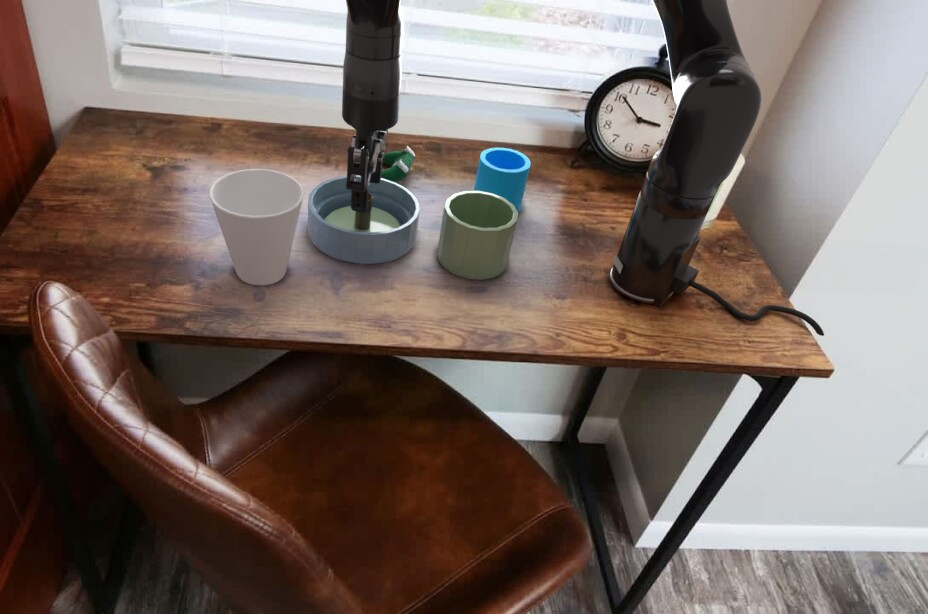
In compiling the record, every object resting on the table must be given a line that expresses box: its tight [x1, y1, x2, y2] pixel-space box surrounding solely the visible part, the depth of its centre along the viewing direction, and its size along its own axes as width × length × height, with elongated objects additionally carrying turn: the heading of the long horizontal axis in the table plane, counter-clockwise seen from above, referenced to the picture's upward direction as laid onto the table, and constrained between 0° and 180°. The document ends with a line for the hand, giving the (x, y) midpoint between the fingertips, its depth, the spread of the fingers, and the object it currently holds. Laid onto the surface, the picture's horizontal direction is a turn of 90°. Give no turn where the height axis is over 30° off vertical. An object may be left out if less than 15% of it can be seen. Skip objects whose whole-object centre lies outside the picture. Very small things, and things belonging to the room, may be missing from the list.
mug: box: [473, 147, 531, 213], centre depth 116 cm, size 12×8×8 cm
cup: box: [208, 168, 305, 286], centre depth 93 cm, size 12×12×12 cm
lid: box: [325, 193, 400, 232], centre depth 104 cm, size 11×11×6 cm
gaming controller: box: [381, 145, 416, 183], centre depth 119 cm, size 9×4×6 cm
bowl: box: [307, 175, 421, 265], centre depth 104 cm, size 16×16×6 cm
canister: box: [436, 190, 519, 281], centre depth 102 cm, size 10×10×8 cm
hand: (366, 195), depth 102 cm, fingers open, 8 cm apart
